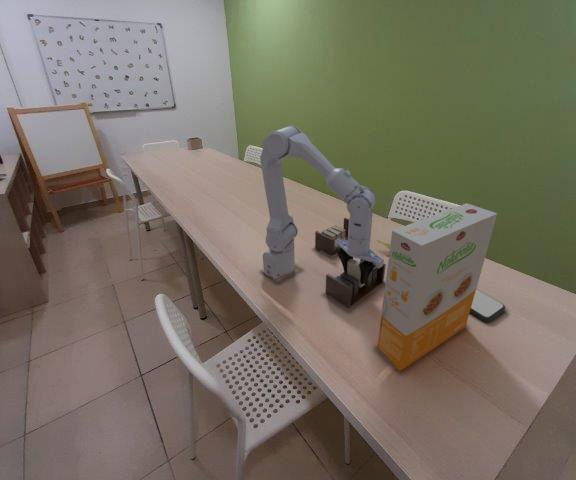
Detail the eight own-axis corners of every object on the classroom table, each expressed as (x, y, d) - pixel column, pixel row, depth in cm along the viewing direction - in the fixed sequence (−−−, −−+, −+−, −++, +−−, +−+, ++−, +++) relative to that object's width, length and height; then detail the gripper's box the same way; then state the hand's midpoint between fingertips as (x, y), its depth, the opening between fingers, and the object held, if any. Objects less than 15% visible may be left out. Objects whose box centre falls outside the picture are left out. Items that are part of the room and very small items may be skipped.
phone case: (506, 310, 76) (448, 276, 89) (507, 306, 76) (449, 272, 88) (486, 324, 72) (428, 287, 85) (487, 320, 72) (429, 282, 84)
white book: (360, 287, 82) (362, 268, 79) (346, 279, 85) (347, 260, 83) (364, 284, 83) (366, 266, 80) (350, 276, 86) (351, 258, 84)
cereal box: (441, 311, 76) (466, 203, 64) (465, 327, 71) (497, 213, 59) (377, 349, 66) (392, 230, 54) (399, 371, 61) (421, 245, 49)
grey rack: (347, 311, 77) (349, 289, 75) (325, 295, 83) (325, 275, 80) (383, 284, 87) (386, 264, 84) (360, 272, 92) (362, 252, 90)
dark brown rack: (331, 258, 100) (332, 239, 97) (314, 249, 105) (315, 231, 102) (361, 241, 109) (363, 224, 106) (344, 234, 114) (345, 217, 112)
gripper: (392, 239, 75) (386, 283, 80) (347, 221, 85) (344, 261, 91) (376, 250, 71) (371, 295, 76) (330, 229, 81) (328, 270, 86)
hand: (355, 277), depth 83 cm, fingers closed on white book, 5 cm apart
